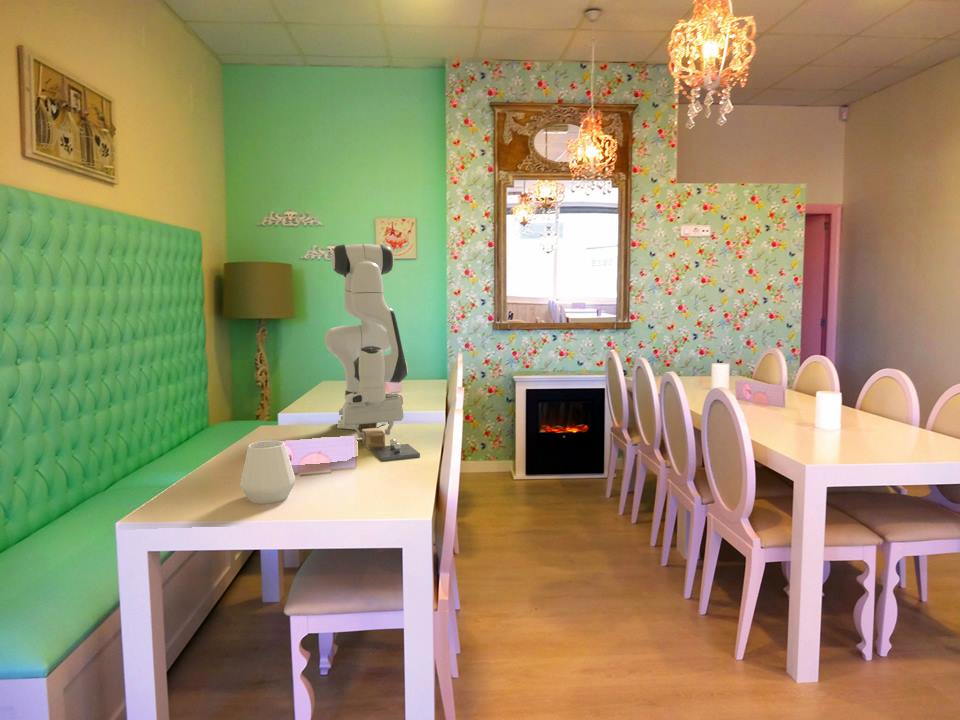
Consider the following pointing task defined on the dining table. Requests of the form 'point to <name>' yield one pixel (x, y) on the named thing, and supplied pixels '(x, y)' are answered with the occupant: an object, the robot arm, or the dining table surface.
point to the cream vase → (267, 472)
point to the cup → (367, 426)
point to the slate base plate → (395, 456)
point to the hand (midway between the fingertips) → (374, 436)
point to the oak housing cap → (373, 438)
